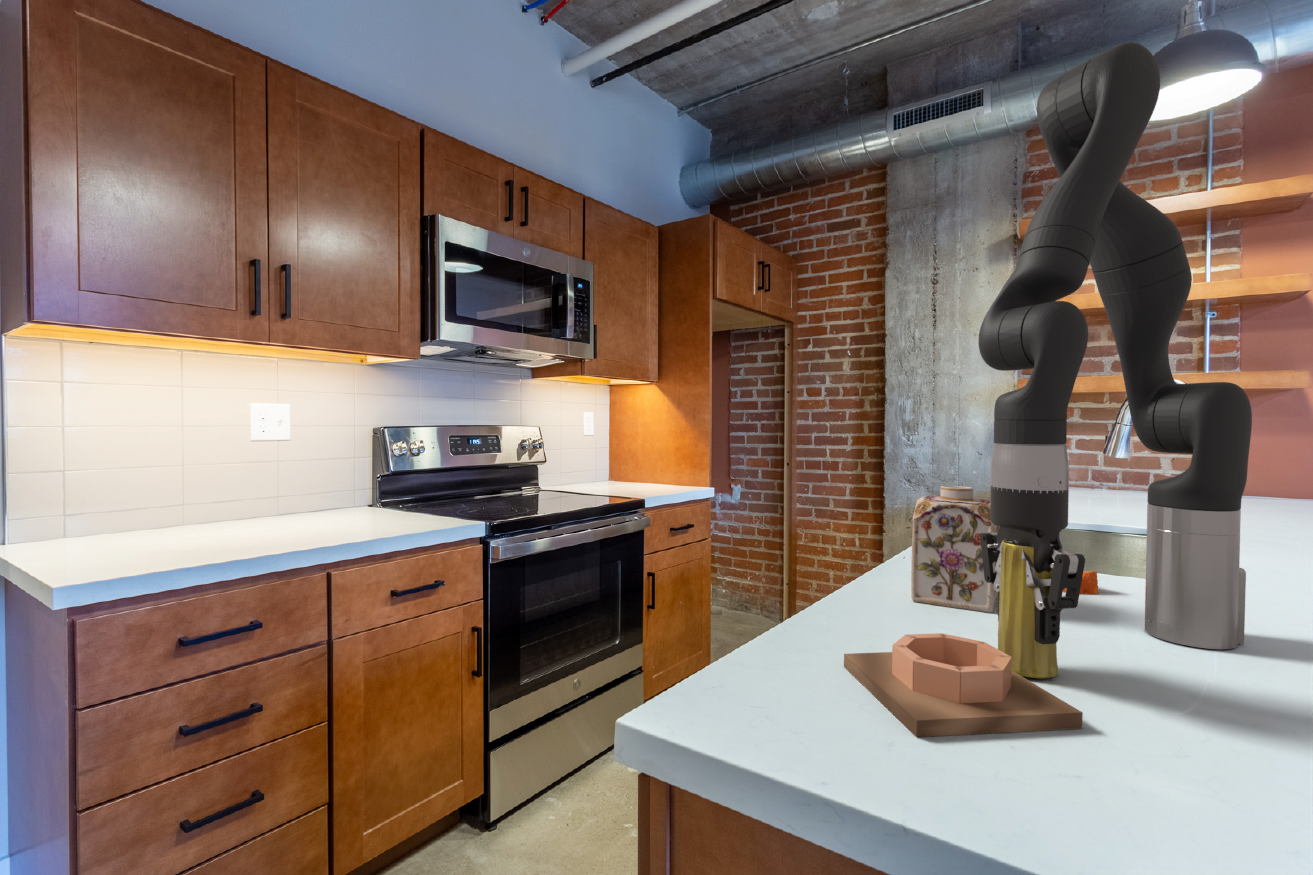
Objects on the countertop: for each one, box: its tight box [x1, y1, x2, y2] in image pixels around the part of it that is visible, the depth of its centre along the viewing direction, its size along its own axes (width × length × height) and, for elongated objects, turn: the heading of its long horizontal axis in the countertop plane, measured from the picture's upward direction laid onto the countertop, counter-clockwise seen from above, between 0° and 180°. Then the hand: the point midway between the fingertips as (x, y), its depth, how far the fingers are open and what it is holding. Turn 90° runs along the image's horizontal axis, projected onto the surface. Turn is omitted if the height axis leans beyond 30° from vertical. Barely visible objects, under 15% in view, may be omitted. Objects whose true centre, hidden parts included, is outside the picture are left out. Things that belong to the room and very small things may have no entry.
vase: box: [997, 539, 1059, 679], centre depth 70 cm, size 6×6×14 cm
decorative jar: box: [910, 485, 999, 614], centre depth 99 cm, size 12×12×18 cm
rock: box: [1062, 569, 1100, 596], centre depth 105 cm, size 12×12×4 cm
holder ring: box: [891, 632, 1012, 703], centre depth 64 cm, size 10×10×3 cm
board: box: [843, 651, 1083, 738], centre depth 64 cm, size 16×16×2 cm
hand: (1026, 632), depth 70 cm, fingers closed on vase, 5 cm apart
